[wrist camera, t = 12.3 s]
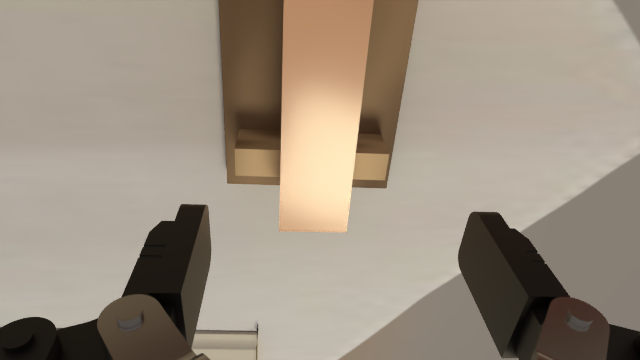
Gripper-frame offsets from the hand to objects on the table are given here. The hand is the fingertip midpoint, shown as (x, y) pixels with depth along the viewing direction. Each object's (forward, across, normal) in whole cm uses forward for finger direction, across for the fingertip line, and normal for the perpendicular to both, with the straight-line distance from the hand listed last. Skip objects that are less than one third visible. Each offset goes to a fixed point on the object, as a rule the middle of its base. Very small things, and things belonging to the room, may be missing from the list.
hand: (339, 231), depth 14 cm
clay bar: (+15, 0, 0) cm, 15 cm away
